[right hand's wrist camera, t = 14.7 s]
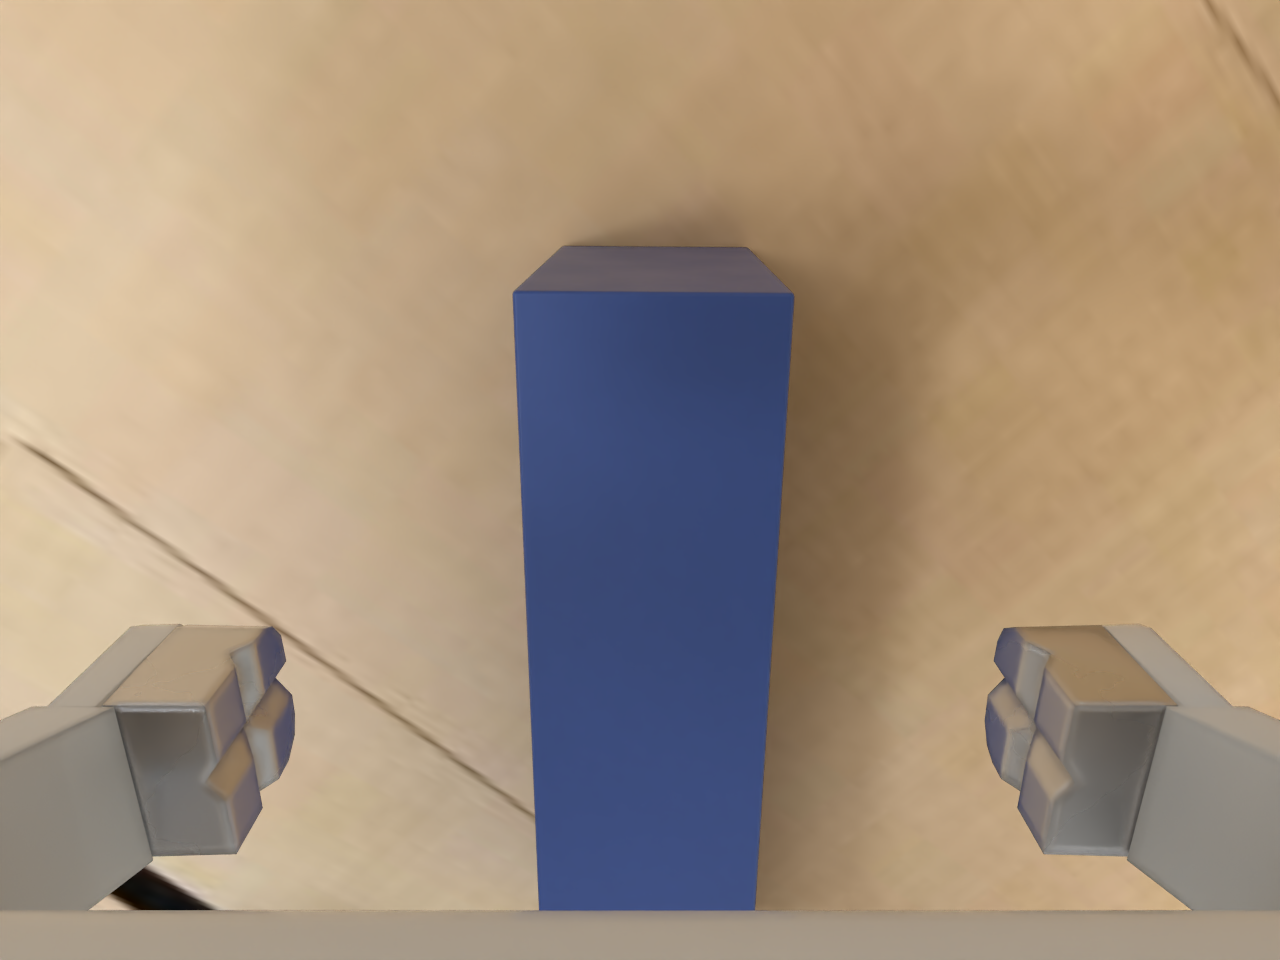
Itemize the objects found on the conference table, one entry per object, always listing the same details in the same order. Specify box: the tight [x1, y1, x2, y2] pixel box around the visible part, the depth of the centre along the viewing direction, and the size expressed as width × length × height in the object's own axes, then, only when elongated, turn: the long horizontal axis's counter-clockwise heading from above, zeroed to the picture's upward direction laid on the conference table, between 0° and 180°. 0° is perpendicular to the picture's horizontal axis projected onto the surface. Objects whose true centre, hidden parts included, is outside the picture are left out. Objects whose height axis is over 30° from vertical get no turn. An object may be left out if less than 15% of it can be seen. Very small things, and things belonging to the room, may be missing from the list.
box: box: [513, 246, 794, 911], centre depth 28 cm, size 27×6×10 cm, turn 179°
